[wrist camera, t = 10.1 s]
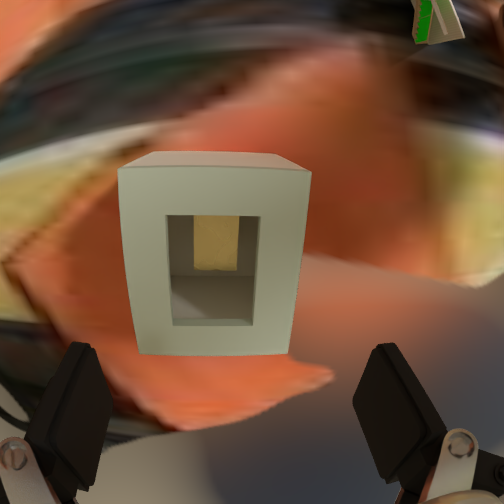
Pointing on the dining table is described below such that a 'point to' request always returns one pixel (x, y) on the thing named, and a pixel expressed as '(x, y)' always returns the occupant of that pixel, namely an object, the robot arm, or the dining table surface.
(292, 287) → the box
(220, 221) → the tan wooden block
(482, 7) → the dining table surface
